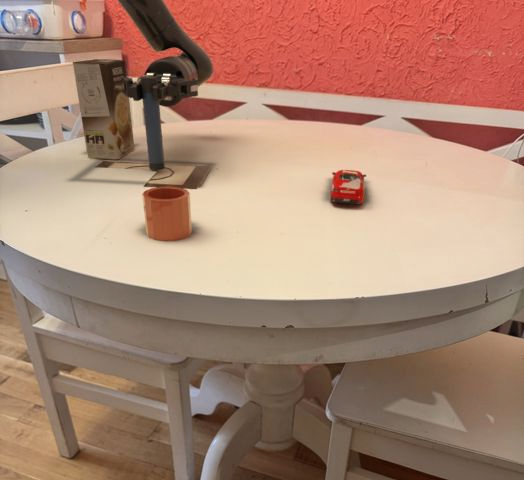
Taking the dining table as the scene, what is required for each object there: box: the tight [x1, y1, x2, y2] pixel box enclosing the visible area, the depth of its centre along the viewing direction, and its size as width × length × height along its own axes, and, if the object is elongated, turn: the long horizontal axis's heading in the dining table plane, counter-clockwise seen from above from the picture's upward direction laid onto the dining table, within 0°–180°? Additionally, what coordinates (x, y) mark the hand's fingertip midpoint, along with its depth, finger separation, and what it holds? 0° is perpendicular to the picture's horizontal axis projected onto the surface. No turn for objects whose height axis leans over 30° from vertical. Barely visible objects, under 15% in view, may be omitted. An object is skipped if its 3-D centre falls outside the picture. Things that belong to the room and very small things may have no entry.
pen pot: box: [141, 187, 193, 242], centre depth 63 cm, size 6×6×6 cm
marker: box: [139, 75, 165, 171], centre depth 83 cm, size 3×3×14 cm
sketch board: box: [95, 160, 212, 190], centre depth 86 cm, size 20×14×1 cm
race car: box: [329, 169, 367, 205], centre depth 79 cm, size 13×5×4 cm, turn 170°
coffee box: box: [72, 58, 135, 161], centre depth 94 cm, size 9×6×16 cm
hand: (145, 93), depth 78 cm, fingers closed on marker, 2 cm apart
